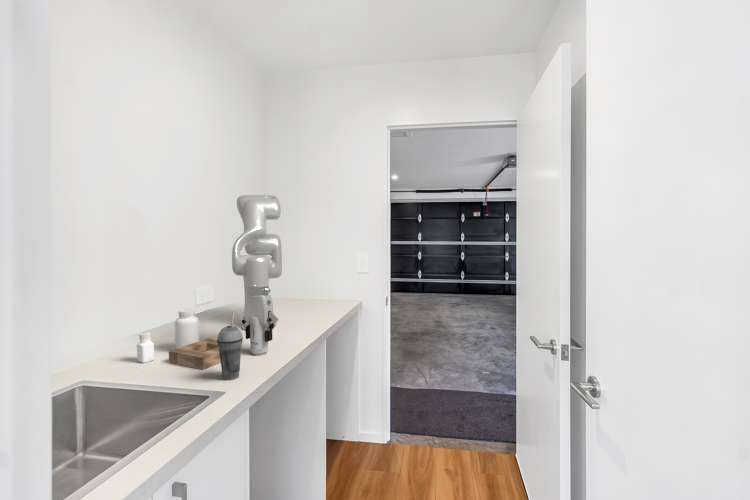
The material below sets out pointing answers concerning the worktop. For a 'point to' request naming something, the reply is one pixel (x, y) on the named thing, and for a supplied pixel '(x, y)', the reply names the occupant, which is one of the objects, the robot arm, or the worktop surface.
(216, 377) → the worktop surface
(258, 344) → the energy drink can
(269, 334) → the robot arm
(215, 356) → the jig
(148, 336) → the pepper shaker
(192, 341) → the pill bottle
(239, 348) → the beverage cup
